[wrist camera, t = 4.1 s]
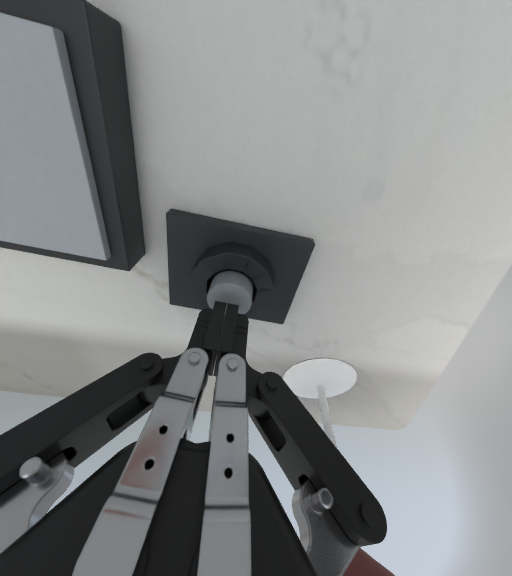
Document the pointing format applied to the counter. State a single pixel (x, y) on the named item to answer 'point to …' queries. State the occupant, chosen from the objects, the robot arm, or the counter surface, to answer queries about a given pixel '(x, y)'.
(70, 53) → the scale
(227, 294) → the button
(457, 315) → the counter surface
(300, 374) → the wineglass
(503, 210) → the counter surface
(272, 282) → the block
